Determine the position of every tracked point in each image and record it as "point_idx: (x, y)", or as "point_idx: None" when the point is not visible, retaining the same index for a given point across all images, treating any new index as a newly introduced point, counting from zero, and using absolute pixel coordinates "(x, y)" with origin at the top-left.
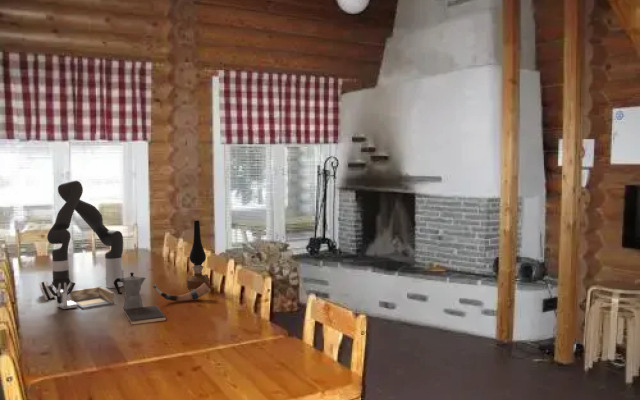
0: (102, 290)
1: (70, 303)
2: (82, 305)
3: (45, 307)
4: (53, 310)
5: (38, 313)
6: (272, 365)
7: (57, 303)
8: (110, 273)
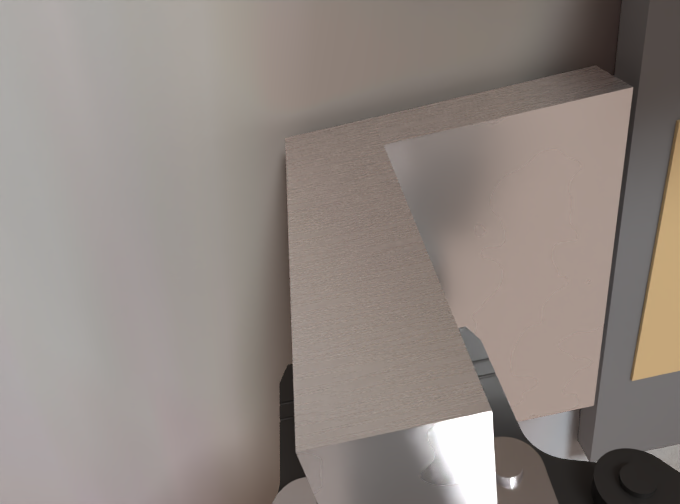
0: None
1: (510, 345)
2: (639, 377)
3: (18, 86)
4: (222, 361)
5: (19, 430)
6: None
7: (287, 163)
8: None
